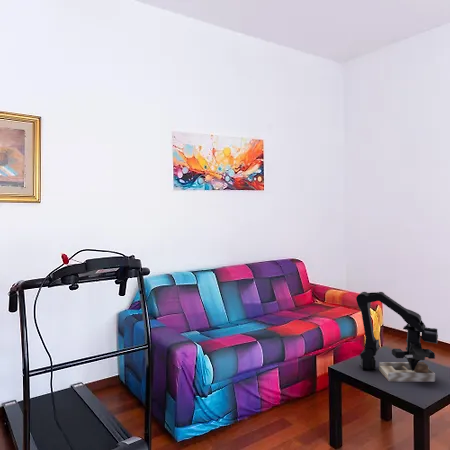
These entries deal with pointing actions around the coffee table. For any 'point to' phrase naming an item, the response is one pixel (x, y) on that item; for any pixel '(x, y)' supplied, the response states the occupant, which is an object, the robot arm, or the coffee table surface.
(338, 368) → the coffee table surface
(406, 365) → the grey slotted tray
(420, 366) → the walnut block
